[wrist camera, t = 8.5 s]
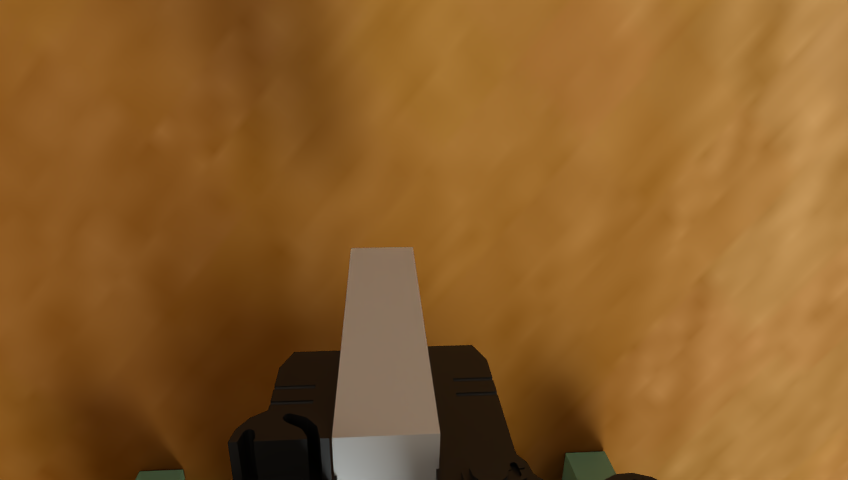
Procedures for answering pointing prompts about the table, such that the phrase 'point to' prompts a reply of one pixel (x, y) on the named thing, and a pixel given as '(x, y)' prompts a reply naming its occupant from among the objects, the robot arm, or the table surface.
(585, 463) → the cup
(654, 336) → the table surface
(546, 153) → the table surface
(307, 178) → the table surface
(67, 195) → the table surface
